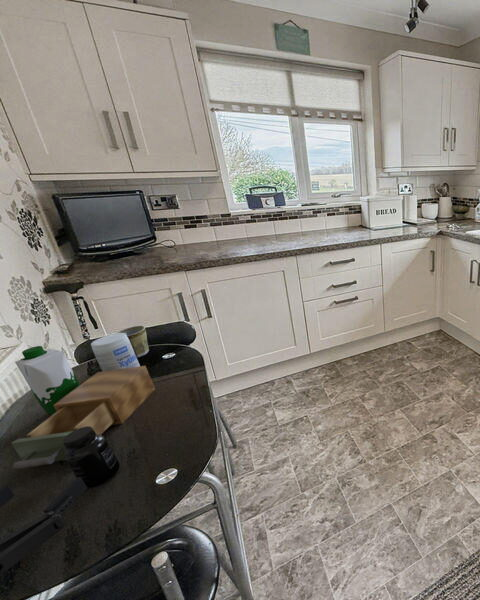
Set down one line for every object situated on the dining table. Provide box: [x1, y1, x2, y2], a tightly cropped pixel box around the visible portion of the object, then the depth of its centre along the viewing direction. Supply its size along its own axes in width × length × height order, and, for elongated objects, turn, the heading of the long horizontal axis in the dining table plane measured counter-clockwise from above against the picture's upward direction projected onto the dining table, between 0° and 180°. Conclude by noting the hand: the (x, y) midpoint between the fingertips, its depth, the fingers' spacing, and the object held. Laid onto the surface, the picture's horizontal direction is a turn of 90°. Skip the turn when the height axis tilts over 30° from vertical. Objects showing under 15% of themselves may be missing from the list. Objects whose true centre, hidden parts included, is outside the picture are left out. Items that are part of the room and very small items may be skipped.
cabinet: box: [53, 365, 156, 427], centre depth 94 cm, size 16×14×9 cm
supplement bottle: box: [62, 426, 121, 489], centre depth 71 cm, size 7×7×12 cm
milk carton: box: [14, 345, 81, 416], centre depth 95 cm, size 9×9×20 cm
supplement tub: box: [90, 332, 141, 372], centre depth 110 cm, size 10×10×15 cm
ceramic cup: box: [114, 325, 150, 359], centre depth 127 cm, size 13×10×10 cm
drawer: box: [11, 401, 116, 470], centre depth 81 cm, size 19×13×7 cm, turn 7°
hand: (46, 486), depth 62 cm, fingers open, 13 cm apart
